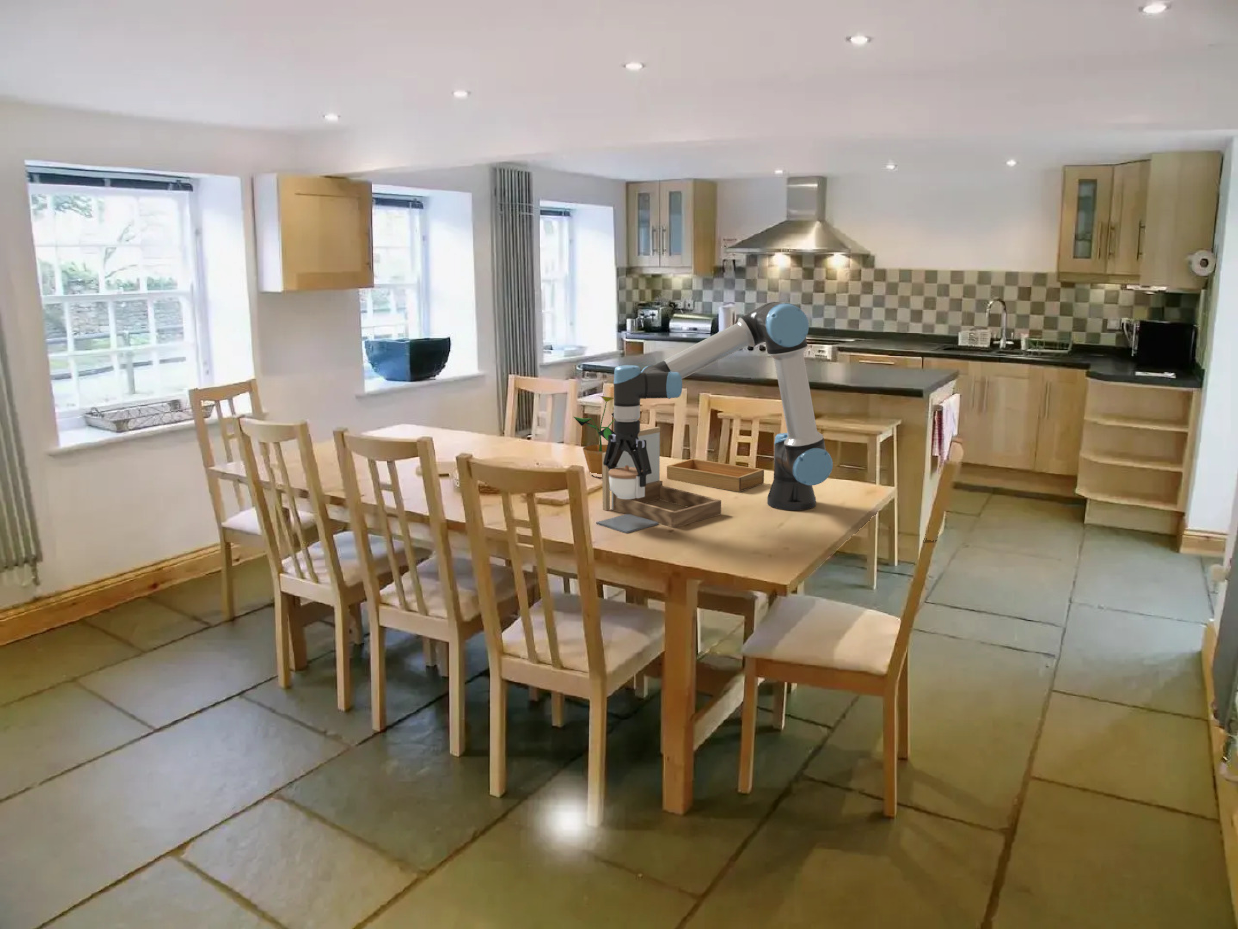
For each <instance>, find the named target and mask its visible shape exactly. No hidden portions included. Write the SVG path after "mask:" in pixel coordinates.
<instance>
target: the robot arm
mask: <svg viewBox="0 0 1238 929" xmlns="http://www.w3.org/2000/svg"><path fill="white" fill-rule="evenodd" d="M809 328H810V325H809V319H808V317H807V315H806V313H805V312H804V311H803V310H802V309H801V307H800V308H799V307H798V306H796V305H794V304H793V303H787V302H785V303H783V302H778V301H772V302H771V301H770V302H767V303H764V304H762V305H760V306H759V307H757V308H755V309H752V311H750V312H748V313H746V314H744V315H743V316H740V317H739V318H738V320H737V322H736V323H735V324H733V325H731V326H729V327H726V328H724V329H723V330H720V331H718V332H717V333H715V334H713V335H711V336H709V337H706V338H705V339H703V340H701V341H699V342H697V343H695V344H693V345H691V346H690V347H687V348H685V349H683V350H682V351H679V352H678V353H675V354H673V355H671V356H670V357H668V358H666V359H664V360H662V361H660V362H658V363H656V364H654V365H653V364H651V365H646V366H645V367H644V368H642V370H641V367H640V366H639V365H631V364H625V365H624V364H623V365H618V366H616V367H615V368H614V371H613V372H614V373H613V374H614V375H613V398H614V399H613V413H614V417H613V418H615V420H614V421H613V432H615V433H616V434H611V435H608V441H607V444H606V445H607V450H606V454H605V458H604V462H603V464H604V465H606V466H607V467H608V468H609V470H611V469H614V468H615V467H618V466H617V463H618V461H619V459H620V457H621V455H622V453H623V451H626V452H628V454H629V455H630V456H631V458H632V460H633V463H634V465H635V467H636V470H637V472H638V475H637V476H636V498H641V497H645V486H646V475H648V474H651V473H652V471H651V466H650V462H649V457H648V453H647V449H646V440H639V439H638V433H639V432H640V430H641V421H640V420H639V419H640V418H641V399H645V400H646V399H668V400H670V399H678V398H680V397H681V395H682V393H683V392H682V391H683V379H685V378H687V377H688V376H691V375H693V374H694V373H697V372H698V371H701V370H702V369H704V368H706V367H708V366H709V367H710V366H711V365H712V364H714V363H716V362H719V361H720V360H723V359H725V358H726V357H728V356H730V355H732V354H734V353H736V352H737V351H740V350H742V349H744V348H746V347H752V348H753V347H755V346H758V345H760V344H762V343H765V347H766V352H767V355H768V356H770V358H772V359H773V361H774V366H775V372H776V373H775V374H776V376H777V383H778V389H779V393H780V394H779V395H780V399H781V404H782V408H783V410H782V411H783V416H784V420H785V421H784V422H785V426H786V432H782V433H781V432H780V433H777V434H776V435H775V437H774V443H773V444H774V451H773V452H774V453H773V455H774V457H773V480H772V483H771V486H770V489H769V491H768V494H767V502H766V504H767V506H769V507H771V508H775V509H779V510H785V511H805V510H810V509H813V508H815V507H816V503H817V498H816V495H815V492H814V488H813V487H814V486H817V485H820V484H822V483H824V482H825V481H826V480H827V479H828V478H829V476H830V475H831V474H832V471H833V468H834V465H833V464H834V462H833V458H832V457H831V454H830V453H829V452H828V451H827V450H826V444H825V437H824V434H822V433H820V432H819V431H818V429H817V428H818V427H817V423H816V417H815V413H814V412H815V411H814V405H813V402H812V401H813V400H812V395H811V388H810V382H809V376H808V372H807V366H806V361H805V355H804V353H805V351H806V349H807V348H808V347H809V346H808V341H807V335H808V333H809V330H810V329H809ZM634 450H635V451H634ZM608 460H609V461H608ZM641 470H642V472H641ZM610 492H612V490H611V488H610Z"/></svg>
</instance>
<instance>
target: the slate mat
mask: <svg viewBox="0 0 1238 929" xmlns="http://www.w3.org/2000/svg"><path fill="white" fill-rule="evenodd" d="M598 524H599V526H602V527H605V528H609V529H611V530H615V531H617V532H621V533H624V534H628V533H633V532H636V531H639V530H644V529H648V528H650V527H654V526H657V525H659V522H656V521H652V520H649V519H645V518H642V517H638V516H635V515H631V514H625V513H624V514H622V515H618V516H615V517H610V518H607V519H603V520H599V521H596V525H598Z"/></svg>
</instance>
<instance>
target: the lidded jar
mask: <svg viewBox="0 0 1238 929" xmlns="http://www.w3.org/2000/svg"><path fill="white" fill-rule="evenodd" d="M641 472H642V470H641ZM637 475H638V472H637V470H636V468H634V467H629V466H628V465H626V466H625V467H620V468H614V469H611V470H609V483H610V488H611V490H612V491H611V493H612V492H613V493H614V494H615V495H616V496H617V498H619V499H635V498H636V476H637Z"/></svg>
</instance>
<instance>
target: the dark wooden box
mask: <svg viewBox="0 0 1238 929" xmlns="http://www.w3.org/2000/svg"><path fill="white" fill-rule="evenodd" d="M657 501H664V502H667V503H671V504H675V505H679V506H683V507H685V508H683V509H679V510H675V511H674V510H672V509H666V508H664V507H660V506H657V505H652V504H649V503H652V502H657ZM612 511H615V512H618V513H622V514H624V515H625V514H631V515H635V516H638V517H642V518H645V519H649V520H652V521H656V522H659V524H660V525H664V526H667V527H671V528H673V529H676V528H679V527H682V526H687V525H689V524H693V523H696V522H699V521H703V520H706V519H709V518H714V517H717V516H720V515H722V500H721V499H717V498H715V497H714V498H713V497H710V496H705V495H701V494H697V493H693V492H689V491H685V490H681V489H678V488H673V487H669V486H666V485H663V480H660V481H656V482H651V483H647V484H646V486H645V497H641V498H635V499H619V498H617V496H616V495H615V494H614V493H613V510H612ZM659 524H658V525H659Z"/></svg>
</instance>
